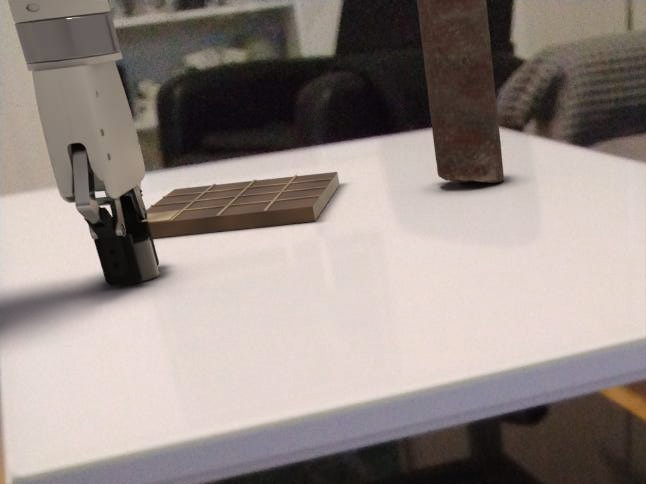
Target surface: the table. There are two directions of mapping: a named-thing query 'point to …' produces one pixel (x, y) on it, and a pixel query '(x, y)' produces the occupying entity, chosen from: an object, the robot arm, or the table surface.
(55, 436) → the table surface
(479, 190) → the table surface
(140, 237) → the short grey cylinder
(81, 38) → the robot arm
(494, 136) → the brown tall block
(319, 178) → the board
